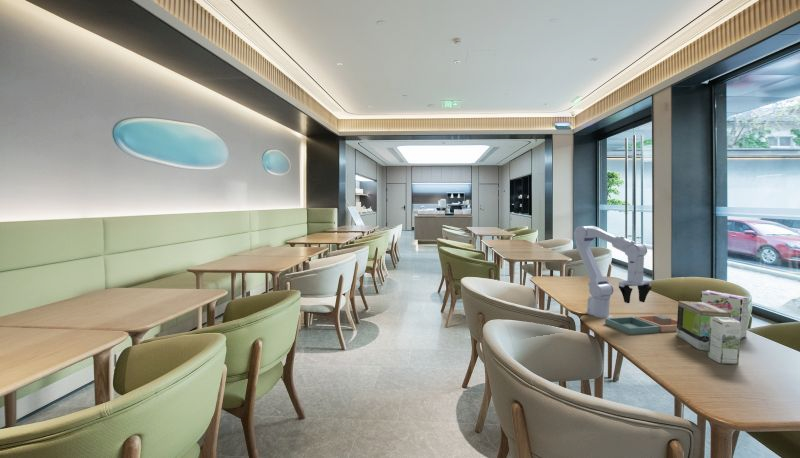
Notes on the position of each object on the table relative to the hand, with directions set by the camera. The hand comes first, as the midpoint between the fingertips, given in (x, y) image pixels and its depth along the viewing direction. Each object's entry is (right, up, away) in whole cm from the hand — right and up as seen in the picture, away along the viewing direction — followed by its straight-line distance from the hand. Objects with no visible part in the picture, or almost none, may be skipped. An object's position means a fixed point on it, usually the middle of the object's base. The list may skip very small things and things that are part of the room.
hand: (634, 302), depth 157 cm
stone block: (+11, -10, -2) cm, 15 cm away
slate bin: (-4, -11, -4) cm, 12 cm away
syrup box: (+7, -13, -36) cm, 39 cm away
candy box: (+30, -11, -9) cm, 34 cm away
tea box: (+12, -12, -20) cm, 27 cm away
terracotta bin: (+11, -11, -1) cm, 15 cm away
